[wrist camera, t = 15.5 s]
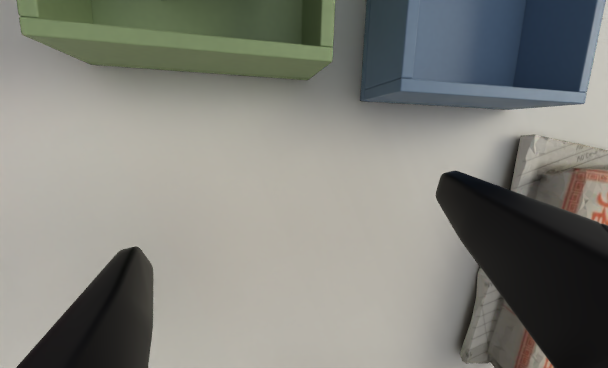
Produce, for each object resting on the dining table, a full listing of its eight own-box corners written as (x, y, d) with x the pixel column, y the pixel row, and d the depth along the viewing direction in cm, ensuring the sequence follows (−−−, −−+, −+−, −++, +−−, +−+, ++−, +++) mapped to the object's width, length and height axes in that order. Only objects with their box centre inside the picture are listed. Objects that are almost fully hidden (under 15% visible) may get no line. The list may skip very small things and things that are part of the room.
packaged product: (613, 401, 21) (507, 409, 18) (545, 351, 25) (453, 352, 23) (709, 160, 18) (598, 133, 16) (613, 154, 23) (516, 132, 20)
